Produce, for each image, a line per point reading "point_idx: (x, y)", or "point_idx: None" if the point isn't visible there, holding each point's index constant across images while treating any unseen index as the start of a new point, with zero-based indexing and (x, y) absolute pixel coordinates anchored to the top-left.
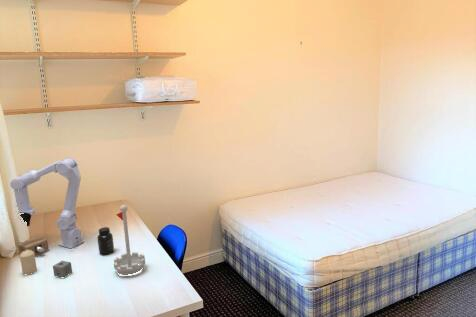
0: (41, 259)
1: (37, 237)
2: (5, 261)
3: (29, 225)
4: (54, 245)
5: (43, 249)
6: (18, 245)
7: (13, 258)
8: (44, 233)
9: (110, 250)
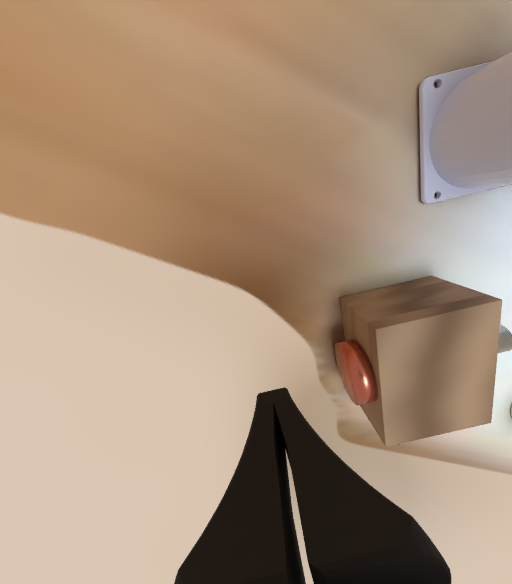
0: None
1: (395, 332)
2: (347, 439)
3: (287, 389)
4: (395, 223)
5: (502, 332)
6: (394, 441)
7: (348, 413)
8: (125, 177)
9: None
